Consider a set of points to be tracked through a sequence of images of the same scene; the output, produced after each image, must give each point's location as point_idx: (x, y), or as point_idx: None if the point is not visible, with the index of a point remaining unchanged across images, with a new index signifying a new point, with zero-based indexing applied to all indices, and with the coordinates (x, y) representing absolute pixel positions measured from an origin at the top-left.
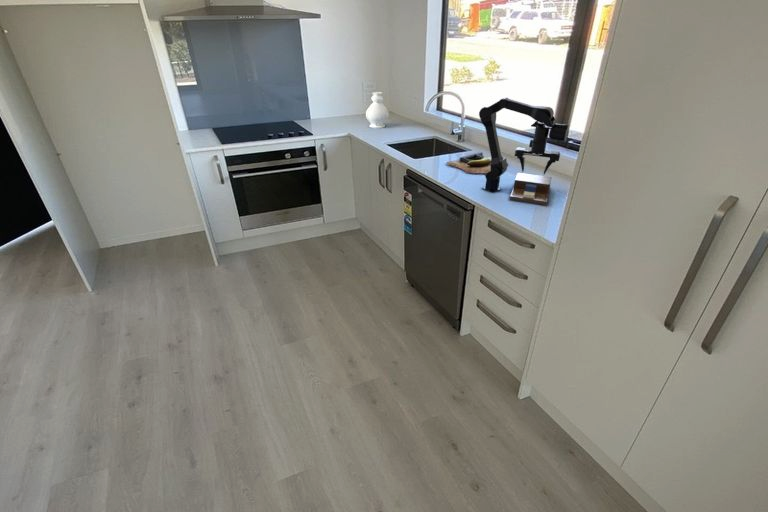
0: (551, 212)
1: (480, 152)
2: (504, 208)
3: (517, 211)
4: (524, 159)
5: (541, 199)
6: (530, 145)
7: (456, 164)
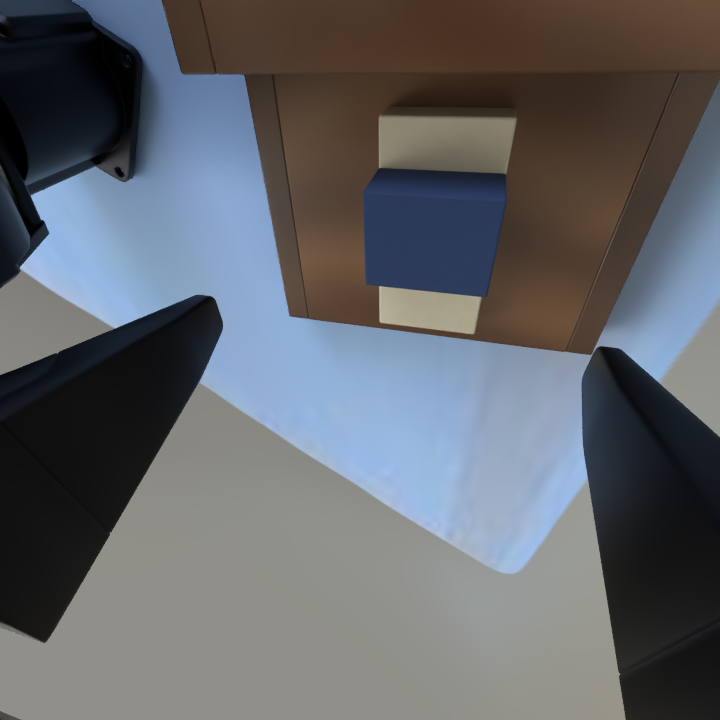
0: None
1: None
2: (311, 410)
3: (381, 431)
4: (6, 463)
5: (548, 321)
6: None
7: None
